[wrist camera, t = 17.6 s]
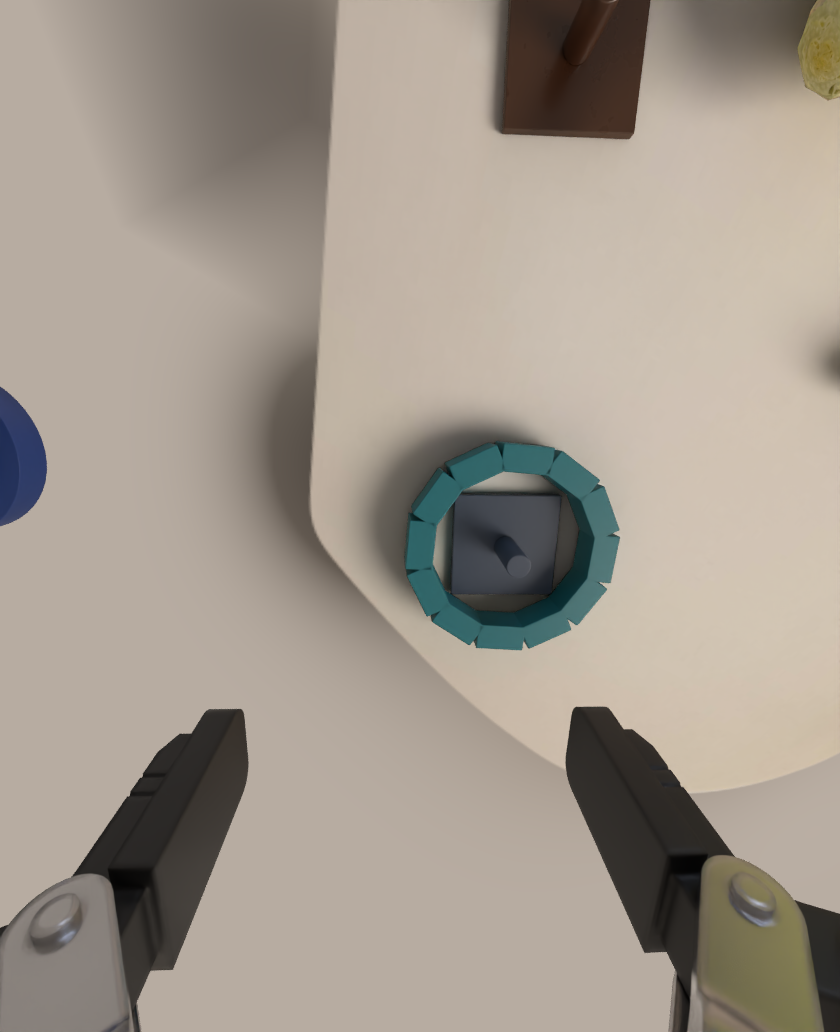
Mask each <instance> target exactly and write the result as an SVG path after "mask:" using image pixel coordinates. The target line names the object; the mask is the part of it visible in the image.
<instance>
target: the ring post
mask: <svg viewBox="0 0 840 1032" xmlns="http://www.w3.org/2000/svg"><path fill="white" fill-rule="evenodd" d="M649 7H650V0H509V13H508V31H507V49H506V67H505V85H504V103H503V121H502V134H519V135H542V136H566V137H590V138H614V139H630V137H631V136H632V135H633V134H634V130H635V122H636V113H637V105H638V97H639V89H640V81H641V73H642V64H643V56H644V48H645V40H646V32H647V24H648V15H649Z"/></svg>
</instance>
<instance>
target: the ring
mask: <svg viewBox="0 0 840 1032" xmlns="http://www.w3.org/2000/svg"><path fill="white" fill-rule="evenodd" d="M445 466H446V468H447V470H448V472H449V474H448V473H446V472H445V471H443V470H442V469H441V468H438V469H437V471H436V472H435V473H434V475H433V476H432V478H431V479H430V480H429V482H428V483H427V485H426V486H425V487H424V489H423V490H422V492H421V493H420V494H419V496H418V497H417V499H416V500H415V501H414V503H413V504H412V506H411V507H412V512H413V513H408V523H407V534H406V545H405V556H404V559H405V568H406V572H407V577H408V579H409V581H410V583H411V586H412V588H413V590H414V592H415V594H416V596H417V598H418V600H419V602H420V604H421V606H422V608H423V610H424V612H425V614H426V616H430V615H431V620H432V622H433V623H435V624H436V625H438V626H439V627H441V628H443V629H444V630H446V631H447V632H449V633H451V634H452V635H454V636H455V637H457V638H458V639H460V640H462V641H463V642H465V643H466V644H468V645H470V644H471V643H472V642H473V641H474V643H475V646H476V648H489V649H508V650H522V647H523V641H524V642H525V644H526V645H527V647H528V648H532V647H534V646H536V645H538V644H541V643H543V642H545V641H547V640H550V639H552V638H554V637H556V636H559V635H561V634H563V633H566V632H568V631H570V630H571V627H570V625H569V622H568V620H570V621H571V622H572V623H574V624H575V625H578V624H579V623H580V622H581V620H582V619H583V618H584V617H585V616H586V614H587V613H588V612H589V611H590V610H591V608H592V607H593V606H594V605H595V604H596V602H597V601H598V600H599V599H600V598H601V596H602V595H603V594H604V593H605V592H606V590H607V589H606V588H605V587H604V586H603V585H602V584H600V583H599V582H603V583H611V578H612V573H613V568H614V564H615V559H616V554H617V549H618V544H619V539H620V537H618V536H617V535H615V534H613V533H614V532H616V531H619V527H618V524H617V522H616V519H615V516H614V513H613V510H612V507H611V504H610V502H609V499H608V496H607V493H606V490H605V487H604V486H602V485H599V484H598V482H599V481H600V480H599V479H598V478H597V477H595V476H594V475H593V474H591V473H590V472H589V471H588V470H586V469H585V468H584V467H582V466H581V465H580V464H578V463H577V462H576V461H575V460H573V459H572V458H571V457H569V456H568V455H567V454H566V453H564V452H563V451H560V450H555V448H552V447H547V446H541V445H531V444H520V443H510V442H500V441H496V442H495V444H491V443H486V444H484V445H482V446H480V447H478V448H475V449H473V450H471V451H469V452H467V453H465V454H462V455H460V456H458V457H456V458H454V459H452V460H450V461H447V462H445ZM503 471H505V472H516V473H527V474H538V475H541V476H543V477H544V478H545V479H547V480H548V481H549V482H551V483H552V484H553V485H555V486H556V487H557V488H559V489H560V490H561V491H563V492H564V493H565V494H567V497H568V500H569V502H570V505H571V508H572V510H573V513H574V516H575V518H576V521H577V524H578V527H579V529H580V530H579V536H578V541H577V547H576V552H575V557H574V563H573V567H572V569H571V570H570V571H569V572H568V574H567V575H566V576H565V577H564V579H563V580H562V581H561V582H560V584H559V585H558V586H557V587H556V589H555V590H554V591H553V592H552V593H551V595H550V596H549V597H548V598H546V599H543V600H541V601H539V602H537V603H534V604H532V605H530V606H528V607H525V608H523V609H521V610H519V611H516V612H514V613H511V612H495V611H479V610H475V609H473V608H472V607H470V606H468V605H467V604H465V603H464V602H462V601H461V600H459V599H458V598H456V597H455V596H453V595H452V594H450V593H449V592H447V591H445V589H444V587H443V584H442V582H441V580H440V578H439V576H438V574H437V572H436V570H435V568H434V565H433V556H434V547H435V537H436V528H437V525H438V523H439V522H440V521H441V519H442V518H443V517H444V515H445V514H446V512H447V511H448V510H449V508H450V507H451V506H452V504H453V503H454V502H455V500H456V499H457V497H458V496H459V495H460V493H461V492H462V491H463V490H464V489H466V488H469V487H471V486H473V485H475V484H477V483H479V482H482V481H484V480H486V479H488V478H490V477H492V476H495V475H497V474H499V473H501V472H503ZM567 619H568V620H567Z"/></svg>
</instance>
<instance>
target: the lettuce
mask: <svg viewBox="0 0 840 1032" xmlns="http://www.w3.org/2000/svg"><path fill="white" fill-rule="evenodd" d="M797 50H798V55H799V60H800V65H801V70H802V74H803V79H804V83H805V87H806V88H808V89H810V90H812V91H814V92H816V93H817V94H819V95H820V96H822V97H823V98H825V99H827V100H831V99H835V98H838V97H840V0H817V1H816V3H815V4H814V6H813V8H812V9H811V12H810V15H809V17H808V20H807V23H806V26H805V29H804V32H803V35H802V38H801V40H800V43H799V45H798V48H797Z"/></svg>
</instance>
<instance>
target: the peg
mask: <svg viewBox="0 0 840 1032" xmlns="http://www.w3.org/2000/svg"><path fill="white" fill-rule="evenodd" d="M561 497H562V496H561V495H559V494H475V493H460V495H459V496H458V497H457V499H456V500H455V502H454V505H453V531H452V557H451V583H450V592H451V594H551V593H552V583H553V574H554V564H555V555H556V545H557V535H558V526H559V516H560V507H561Z"/></svg>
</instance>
